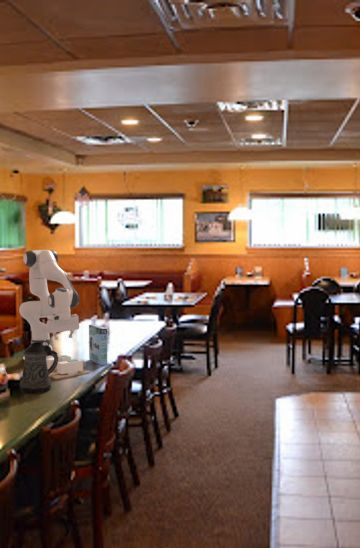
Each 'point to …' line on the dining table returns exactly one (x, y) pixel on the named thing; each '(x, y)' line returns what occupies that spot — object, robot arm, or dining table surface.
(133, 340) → the dining table surface
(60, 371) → the rail board
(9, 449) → the dining table surface
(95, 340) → the blue cardboard box
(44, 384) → the beer stein
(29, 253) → the robot arm
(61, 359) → the module block
